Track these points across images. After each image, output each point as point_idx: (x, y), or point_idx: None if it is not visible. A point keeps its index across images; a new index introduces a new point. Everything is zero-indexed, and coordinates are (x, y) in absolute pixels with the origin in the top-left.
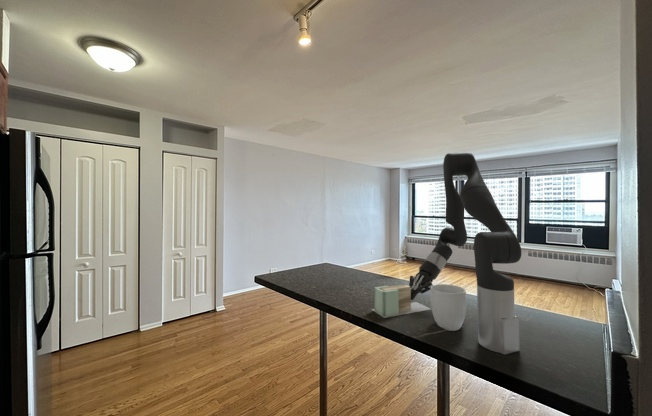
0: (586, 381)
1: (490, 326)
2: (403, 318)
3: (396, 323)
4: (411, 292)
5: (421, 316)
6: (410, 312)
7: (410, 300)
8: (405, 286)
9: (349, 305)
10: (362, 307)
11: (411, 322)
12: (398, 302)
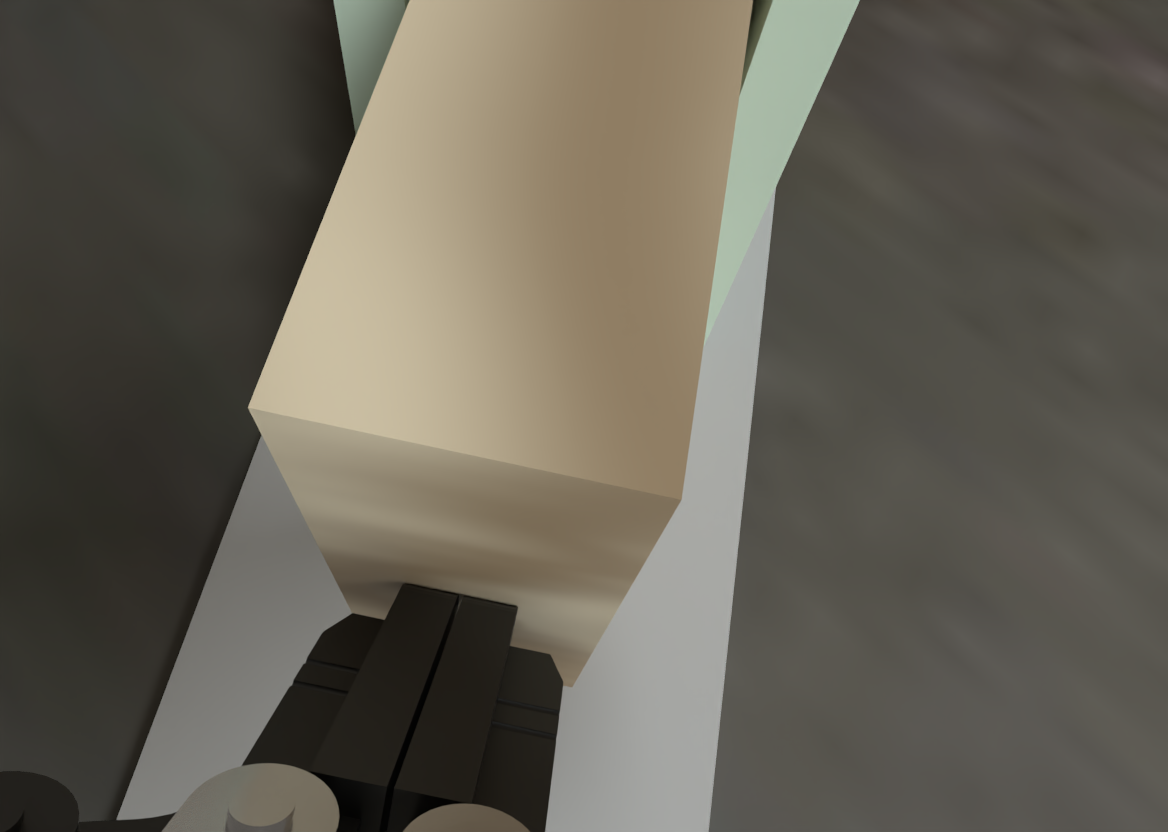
0: None
1: None
2: (238, 261)
3: (200, 67)
4: (393, 689)
5: (31, 589)
6: (263, 493)
7: (345, 582)
8: (421, 262)
9: (1111, 46)
10: (965, 119)
11: (40, 238)
12: (356, 131)
